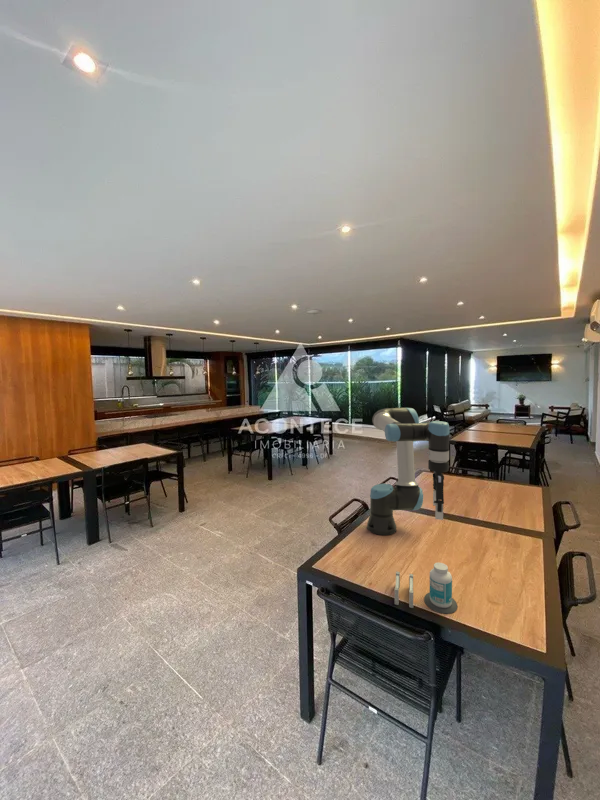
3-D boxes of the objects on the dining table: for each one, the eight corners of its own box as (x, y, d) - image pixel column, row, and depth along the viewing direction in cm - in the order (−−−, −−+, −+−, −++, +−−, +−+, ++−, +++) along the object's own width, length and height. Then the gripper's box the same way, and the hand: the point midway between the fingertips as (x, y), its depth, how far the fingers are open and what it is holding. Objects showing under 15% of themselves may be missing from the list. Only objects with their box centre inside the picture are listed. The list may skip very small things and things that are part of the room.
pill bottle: (445, 594, 122) (446, 559, 121) (455, 608, 115) (456, 571, 113) (425, 595, 122) (426, 560, 121) (434, 609, 114) (435, 572, 113)
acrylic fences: (395, 584, 129) (395, 571, 128) (413, 588, 127) (413, 574, 126) (394, 604, 118) (394, 589, 117) (413, 608, 116) (413, 593, 115)
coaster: (423, 590, 125) (423, 589, 125) (455, 596, 122) (455, 594, 122) (424, 609, 115) (424, 608, 115) (459, 616, 111) (459, 615, 111)
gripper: (426, 452, 144) (426, 499, 145) (430, 468, 120) (429, 524, 122) (445, 453, 141) (444, 501, 143) (452, 469, 118) (451, 526, 119)
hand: (437, 512), depth 132 cm, fingers open, 13 cm apart
